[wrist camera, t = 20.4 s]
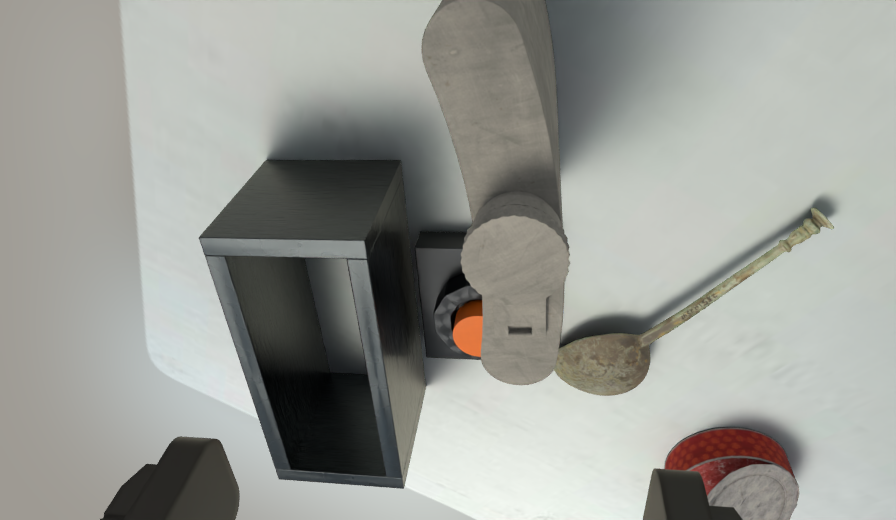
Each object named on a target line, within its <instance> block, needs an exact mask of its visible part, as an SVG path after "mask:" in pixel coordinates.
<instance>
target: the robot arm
mask: <svg viewBox="0 0 896 520" xmlns="http://www.w3.org/2000/svg"><path fill="white" fill-rule="evenodd" d="M238 507H239V487H238V484H237V482H236V479H235V477H234V474H233V471H232V469H231V467H230V464H229V461H228V459H227V456H226V454H225V451H224V449H223V446H222V444H221V442H220V441H219V440H218V439H211V438H194V437H177V438H175V439H174V440H173V441H172V442H171V443H170V444H169V446H168V447H167V449H166V451H165V452H164V454H163V455H162V457H161V459H160V460H159V462H158V464H157V465H154V464H146V465H145V466H144V467H142V468H141V469H140V470H139V471H138V472H137V473H136V474H135V475H134V476H132V477H131V478H130V479H129V480H128V481H127V482H126V483H125V484H124V485H122V486H121V488H120V489H119V491H118V492H117V494H116V495H115V497H114V499H113V500H112V502H111V504H110V505H109V506H108V508H107V510H106V511H105V513H104V518H103V519H100V520H235V519H236V515H237V512H238ZM643 520H743V519H742V518H741V517H740V515H739V514H738V513H737V511H736V510H735V508H734V507H721V506H709V502H708V498H707V494H706V490H705V486H704V482H703V479H702V476H701V474H700V473H699V472H698V471H684V470H668V469H654V470H653V472H652V475H651V481H650V486H649V491H648V496H647V501H646V506H645V511H644V516H643Z"/></svg>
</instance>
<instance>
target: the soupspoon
mask: <svg viewBox="0 0 896 520" xmlns="http://www.w3.org/2000/svg"><path fill="white" fill-rule="evenodd" d="M811 212H812V215H813V217H812V219H810V218H807V219H805V220H804V222H803V225H802V226H799V228H797V229H796V230H794V231H793V232H792V233H791V234H790V236H789V238H788V239H786V240H780V241H779V244H778V245H777V246H776V247H774V248H773V249H771V250H770V251H768V252H767V253H765V254H764V255H762V256H761V257H759V258H758V259H756V260H755V261H753V262H752V263H750V264H749V265H748V266H746V267H744V268H743V269H741V270H740V271H738V272H737V273H735V274H734V275H732V276H731V277H730V278H728V279H727V280H725V281H724V282H722V283H721V284H719V285H718V286H716V287H715V288H713V289H712V290H710V291H709V292H708V293H706V294H705V295H703V296H702V297H701V298H699V299H698V300H696V301H695V302H693V303H692V304H690V305H689V306H687V307H686V308H684V309H683V310H681V311H679V312H678V313H676V314H675V315H673V316H671V317H669V318H668V319H666V320H665V321H663V322H661V323H660V324H658V325H656V326H655V327H653V328H651V329H649V330H648V331H646V332H644V333H642V334H641V335H634V334H627V333H612V334H604V335H596V336H590V337H585V338H582V339H578V340H575V341H573V342H571V343H569V344H567V345H565V346H563V347H561V348H559V351H558V357H557V363H556V366H555V368H554V371H555V372H556V373H557V375H558V376H559V377H560V378H561V379H562V380H564V381H565V382H566V383H568V384H569V385H571V386H573V387H575V388H577V389H579V390H581V391H584V392H587V393H591V394H595V395H604V396H609V395H617V394H622V393H625V392H628V391H630V390H632V389H634V388H635V387H636V386H638V385H639V384H640V383H641V382H642V381H643V380H644V378H645V376H646V374H647V372H648V369H649V365H650V350H649V344H651V343H652V342H654V341H655V340H657V339H659V338H660V337H662V336H663V335H665V334H667V333H669V332H670V331H671V330H673V329H674V328H676V327H678V326H679V325H681V324H682V323H684V322H685V321H687V320H689V319H690V318H691V317H693V316H694V315H696V314H697V313H699V312H700V311H701V310H703V309H705V308H706V307H707V306H709V305H710V304H711V303H713V302H714V301H716V300H717V299H719V298H720V297H721V296H723V295H724V294H726V293H727V292H728V291H730V290H731V289H733V288H734V287H735V286H737V285H738V284H739V283H741V282H742V281H744V280H745V279H747V278H748V277H750V276H751V275H753V274H754V273H755V272H757V271H758V270H760V269H761V268H763V267H764V266H766V265H767V264H768V263H770V262H771V261H773V260H774V259H775V258H777V257H778V256H779V255H780V254H782V253H784V252H790V251H791V248H792V247H793V246H794V245H796V244H799V243H802V242H803V241H805V240H806V239H808V238H810V237H811V235H812V234H818V233H820V227H822V226H824V227H827V228H830V229H834V226H833V225H832V224H831V223H830V221H829V220H828V219H827V218H826V217H825V216H824V215H823V214H822V213H821V212H820V211H819V210H818V209H816V208H811Z"/></svg>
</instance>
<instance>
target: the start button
mask: <svg viewBox="0 0 896 520" xmlns="http://www.w3.org/2000/svg"><path fill="white" fill-rule="evenodd" d="M482 325H483V308H482V300H475V301H470V302H468V303H466V304H464V305H463V306H461V307H460V309H459V310H458V311H457V314H456V318H455V323H454V328H453V339H454V342H455V344H456V345H457V347H458V348H459V349H461V350H462V351H463V352H465V353H467V354H469V355H472V356H477V357H481V343H482Z"/></svg>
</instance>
